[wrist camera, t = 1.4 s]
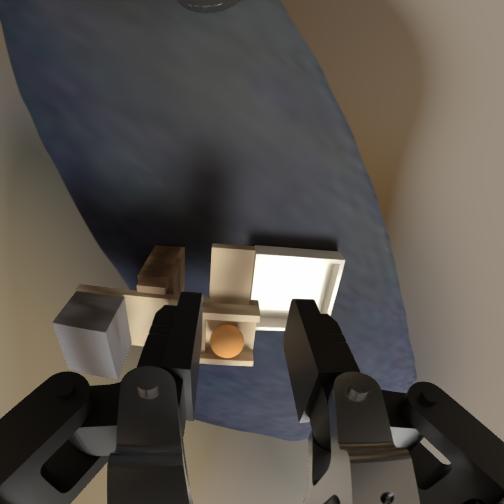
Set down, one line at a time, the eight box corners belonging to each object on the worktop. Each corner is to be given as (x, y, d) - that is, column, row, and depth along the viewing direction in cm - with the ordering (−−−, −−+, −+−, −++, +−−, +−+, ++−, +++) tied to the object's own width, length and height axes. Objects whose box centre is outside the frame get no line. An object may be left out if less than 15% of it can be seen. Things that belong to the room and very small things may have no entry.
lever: (90, 332, 31) (69, 371, 25) (72, 233, 26) (37, 262, 20) (251, 349, 33) (255, 394, 27) (265, 247, 28) (274, 283, 22)
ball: (211, 316, 30) (209, 338, 27) (244, 318, 30) (246, 340, 27) (210, 341, 31) (208, 363, 28) (242, 343, 32) (243, 365, 28)
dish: (254, 245, 38) (256, 253, 36) (338, 251, 39) (345, 260, 37) (246, 317, 43) (246, 329, 40) (321, 320, 44) (325, 331, 41)
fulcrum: (158, 305, 41) (141, 353, 32) (155, 245, 38) (132, 284, 28) (185, 308, 42) (174, 357, 32) (184, 247, 38) (169, 288, 28)
